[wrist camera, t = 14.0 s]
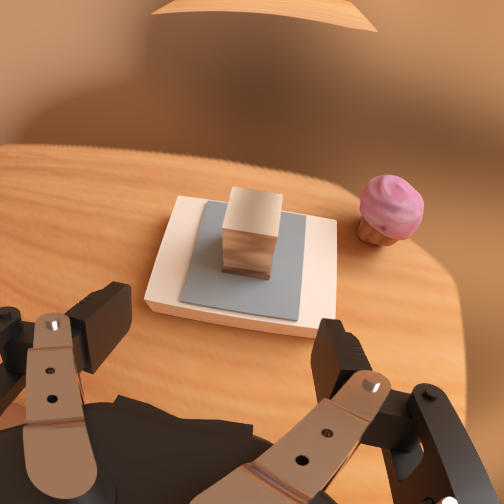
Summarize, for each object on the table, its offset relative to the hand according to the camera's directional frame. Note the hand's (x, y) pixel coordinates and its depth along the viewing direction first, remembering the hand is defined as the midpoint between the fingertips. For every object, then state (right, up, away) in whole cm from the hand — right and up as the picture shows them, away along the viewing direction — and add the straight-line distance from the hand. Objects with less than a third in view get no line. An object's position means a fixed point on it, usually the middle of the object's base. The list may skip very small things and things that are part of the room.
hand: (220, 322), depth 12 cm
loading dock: (+1, 0, +25) cm, 25 cm away
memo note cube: (+1, +3, +21) cm, 21 cm away
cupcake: (+19, +5, +29) cm, 35 cm away
